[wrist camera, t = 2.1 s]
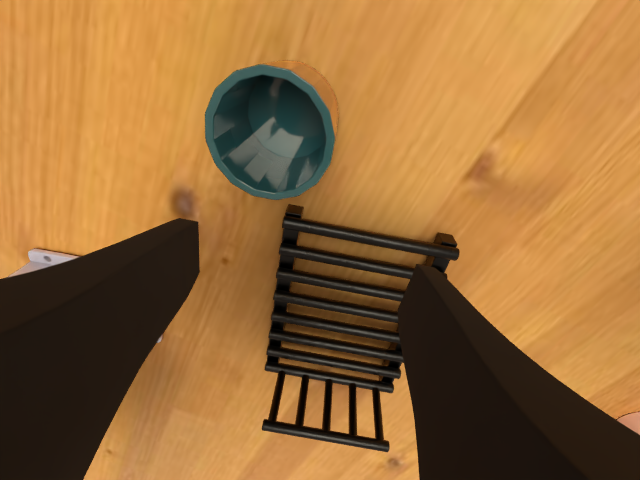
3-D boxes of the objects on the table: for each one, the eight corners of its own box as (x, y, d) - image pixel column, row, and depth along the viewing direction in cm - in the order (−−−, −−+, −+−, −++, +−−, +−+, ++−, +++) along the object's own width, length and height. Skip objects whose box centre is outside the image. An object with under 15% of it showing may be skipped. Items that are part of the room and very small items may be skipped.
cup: (243, 151, 19) (206, 187, 14) (247, 51, 17) (203, 52, 12) (328, 168, 19) (321, 209, 14) (347, 71, 17) (346, 80, 12)
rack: (269, 353, 29) (248, 430, 23) (288, 203, 21) (265, 263, 15) (388, 375, 29) (398, 457, 23) (452, 234, 21) (491, 305, 15)
